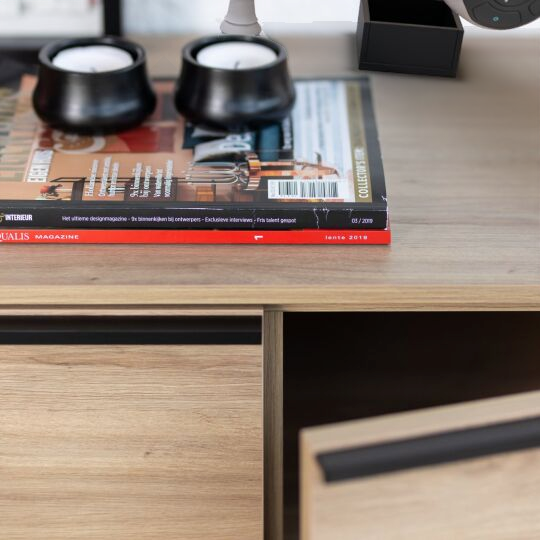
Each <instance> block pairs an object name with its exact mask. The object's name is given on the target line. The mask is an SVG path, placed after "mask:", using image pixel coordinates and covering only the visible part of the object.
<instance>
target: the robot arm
mask: <svg viewBox="0 0 540 540" xmlns="http://www.w3.org/2000/svg"><path fill="white" fill-rule="evenodd" d="M444 1H445V2H446V4H447V5H448V6H449V7H450V8H451V9H452V10H453V11H454V12H456V13H457V14H458V15H459V17H461V18H462V19H463V20H464V21H466V22H468V23H470V24H471V25H473V26H475V27H478V28H481V29H484V30H490V31H509V30H515V29H518V28H521V27H524V26H527V25H530V24H531V23H533V22H535V21H537V20H539V19H540V0H444Z"/></svg>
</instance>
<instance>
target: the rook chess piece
mask: <svg viewBox="0 0 540 540" xmlns="http://www.w3.org/2000/svg"><path fill="white" fill-rule="evenodd" d="M258 20H259V18H258V17H257V15H256V6H255V0H229V3H228V8H227V12H226V14H225V15H224V20H223V21H221V23H220V24H219V30H220V31H221V32H220V33H219V34H218V36H219V35H221V34H243V35H255V36H260V37H261V38H262V36H261V35H260V34H261V33H262V26H261V25H260V23H259V21H258Z"/></svg>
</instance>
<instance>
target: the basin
mask: <svg viewBox="0 0 540 540" xmlns="http://www.w3.org/2000/svg"><path fill="white" fill-rule="evenodd" d="M460 17H461V16H459V15H458V14H457V13H456V12H454V11H453V10H452V9H451V8H450V7H449V6H448V5H447V4H446V2H445V1H444V0H359V6H358V14H357V23H356V30H355V43H356V44H355V45H356V56H357V68H358V70H364V71H377V72H378V71H379V72H387V73H388V72H389V73H400V74H401V73H402V74H410V75H411V74H413V75H424V76H435V77H436V76H437V77H449V78H456V77H457V74H458V73H457V72H458V67H459V62H460V56H461V51H462V46H463V42H464V41H463V40H464V35H465V29H464V26H463V23H462V20H461V18H460Z"/></svg>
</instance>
